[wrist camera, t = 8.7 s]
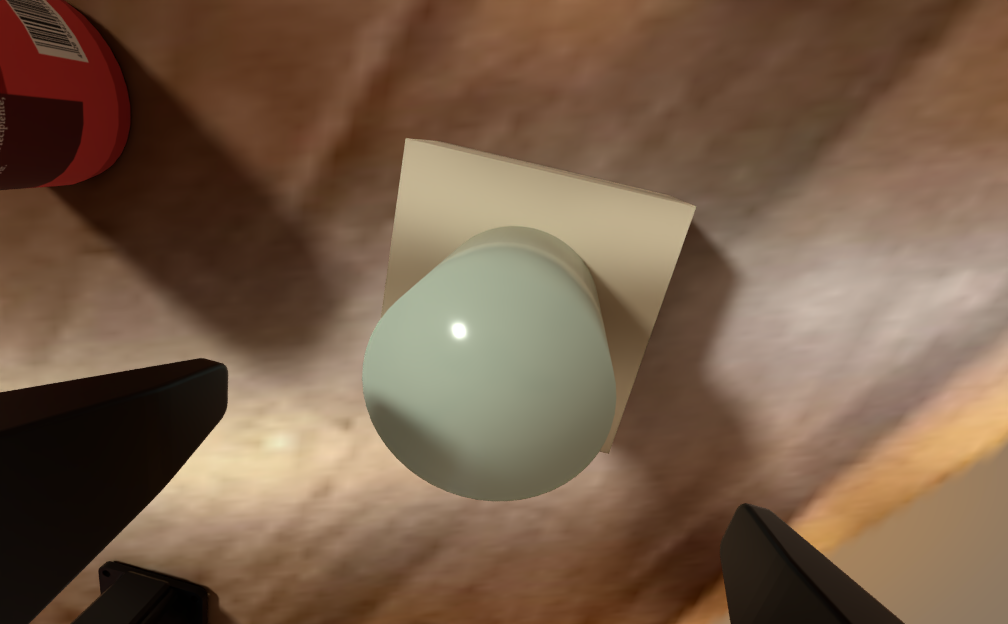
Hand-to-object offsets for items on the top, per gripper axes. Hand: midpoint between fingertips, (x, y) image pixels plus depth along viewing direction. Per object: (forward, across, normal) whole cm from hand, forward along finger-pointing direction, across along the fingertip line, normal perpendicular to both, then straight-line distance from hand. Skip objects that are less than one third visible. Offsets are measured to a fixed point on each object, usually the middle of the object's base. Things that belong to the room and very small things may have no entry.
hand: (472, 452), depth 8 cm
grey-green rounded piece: (+8, 0, 0) cm, 8 cm away
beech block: (+12, 0, 0) cm, 12 cm away
